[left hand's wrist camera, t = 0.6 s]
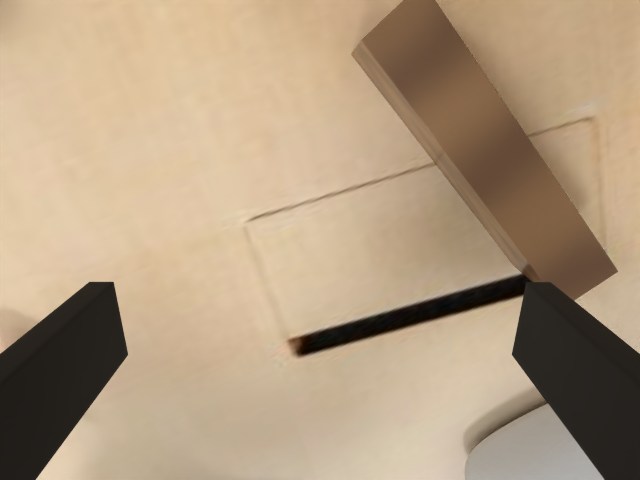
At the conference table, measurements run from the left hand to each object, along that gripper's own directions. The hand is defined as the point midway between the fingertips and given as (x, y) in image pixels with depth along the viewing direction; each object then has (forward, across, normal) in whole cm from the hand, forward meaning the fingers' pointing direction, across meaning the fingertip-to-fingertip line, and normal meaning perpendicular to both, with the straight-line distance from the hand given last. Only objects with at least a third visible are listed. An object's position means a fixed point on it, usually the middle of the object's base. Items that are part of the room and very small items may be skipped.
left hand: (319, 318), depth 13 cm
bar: (+24, -12, -2) cm, 27 cm away
